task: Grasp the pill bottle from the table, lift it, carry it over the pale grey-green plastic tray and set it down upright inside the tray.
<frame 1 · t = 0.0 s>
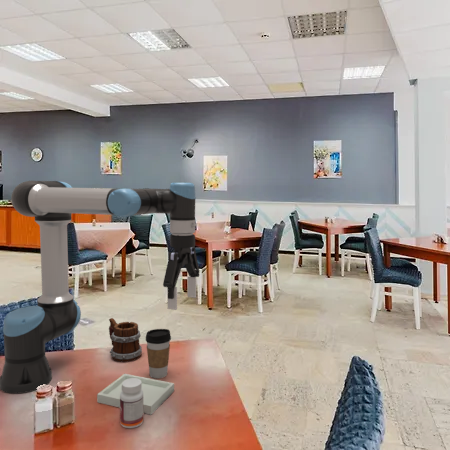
hand: (182, 302, 123), 28 cm above the table, fingers open, 13 cm apart
mug: (123, 355, 151), on the table
tray: (136, 396, 121), on the table
coffee cup: (158, 375, 136), on the table
pill bottle: (131, 423, 108), on the table
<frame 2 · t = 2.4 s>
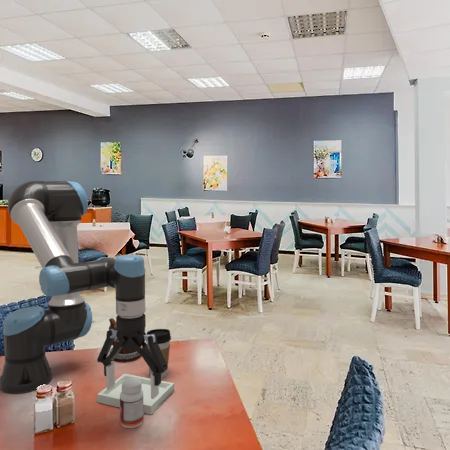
hand: (132, 392, 107), 9 cm above the table, fingers open, 13 cm apart
nothing on the table moved.
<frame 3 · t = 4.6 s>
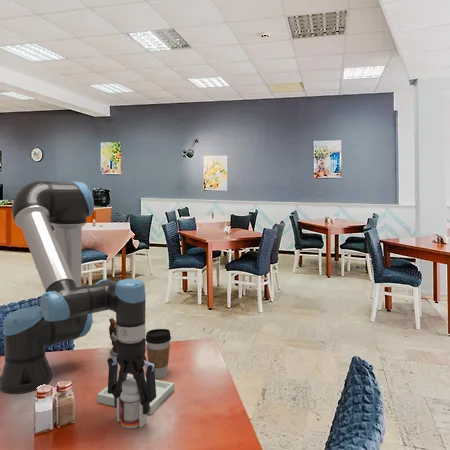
hand: (132, 421, 108), 0 cm above the table, fingers closed on pill bottle, 6 cm apart
pill bottle: (132, 423, 108), on the table, touching gripper
everything else where it was.
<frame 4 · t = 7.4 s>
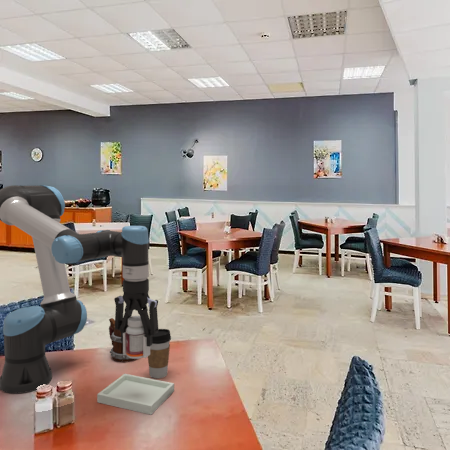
hand: (136, 354, 120), 13 cm above the table, fingers closed on pill bottle, 6 cm apart
pill bottle: (136, 355, 120), point 13 cm above the table, touching gripper
everything else where it was.
when the fingers open (2 cm above the table, at t = 10.0 s): pill bottle stays where it is, resting on tray.
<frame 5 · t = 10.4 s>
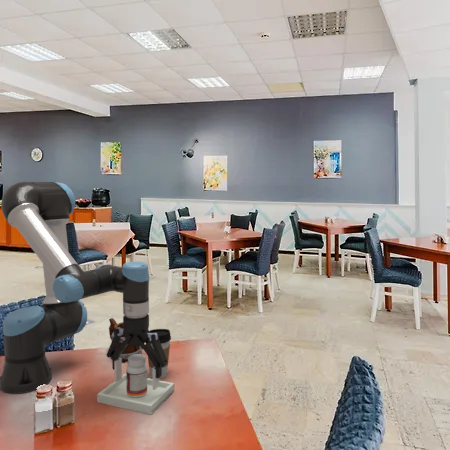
hand: (136, 383, 121), 4 cm above the table, fingers open, 12 cm apart
pill bottle: (137, 393, 121), point 1 cm above the table, touching tray
everything else where it was.
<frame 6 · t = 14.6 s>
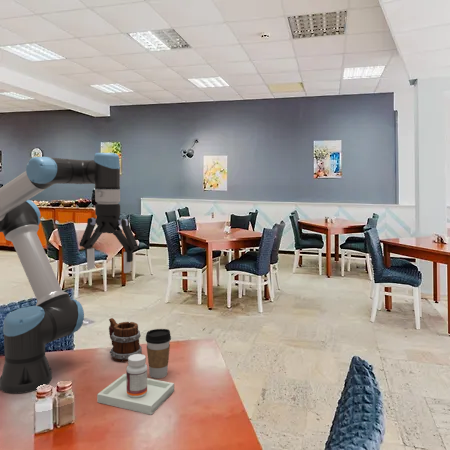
hand: (108, 270, 127), 37 cm above the table, fingers open, 13 cm apart
nothing on the table moved.
at the end: pill bottle inside the target area on the tray (0.1 cm from its centre), point 0.8 cm above the tray's base; pill bottle tilted 0°; the gripper is holding nothing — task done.
